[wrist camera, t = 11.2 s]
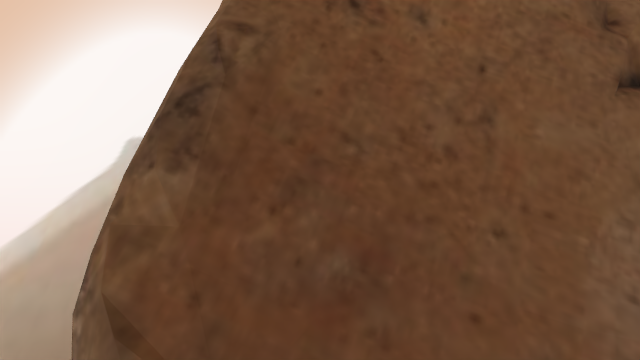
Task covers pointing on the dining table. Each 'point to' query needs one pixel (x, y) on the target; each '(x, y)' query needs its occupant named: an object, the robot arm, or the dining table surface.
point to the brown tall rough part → (382, 189)
